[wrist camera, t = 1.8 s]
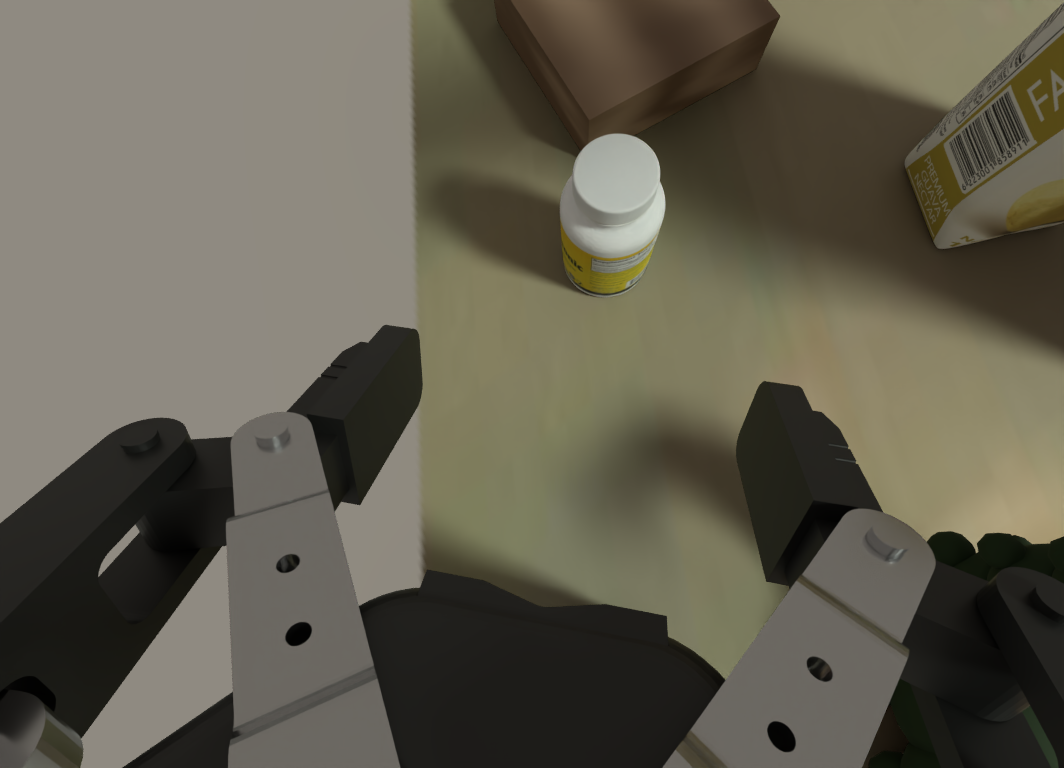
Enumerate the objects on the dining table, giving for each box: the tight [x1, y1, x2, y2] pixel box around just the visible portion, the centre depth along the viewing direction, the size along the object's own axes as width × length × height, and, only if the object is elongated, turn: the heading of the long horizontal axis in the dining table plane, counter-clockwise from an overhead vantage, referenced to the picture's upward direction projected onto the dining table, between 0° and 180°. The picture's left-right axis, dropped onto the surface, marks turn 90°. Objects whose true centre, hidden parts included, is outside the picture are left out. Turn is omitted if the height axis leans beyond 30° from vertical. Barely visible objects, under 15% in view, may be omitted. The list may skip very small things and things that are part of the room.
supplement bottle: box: [560, 134, 665, 297], centre depth 27 cm, size 5×5×10 cm
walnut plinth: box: [494, 0, 780, 151], centre depth 33 cm, size 13×13×4 cm
